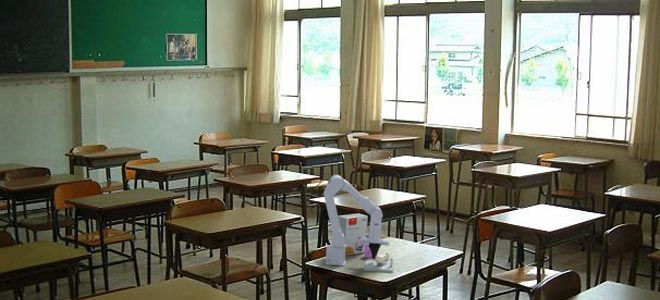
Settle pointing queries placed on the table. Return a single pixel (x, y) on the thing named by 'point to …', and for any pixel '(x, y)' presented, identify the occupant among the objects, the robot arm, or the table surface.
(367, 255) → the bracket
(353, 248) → the hard drive box
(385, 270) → the board
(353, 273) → the table surface
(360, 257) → the table surface
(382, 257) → the cream knobbed bar
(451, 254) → the table surface
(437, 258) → the table surface
